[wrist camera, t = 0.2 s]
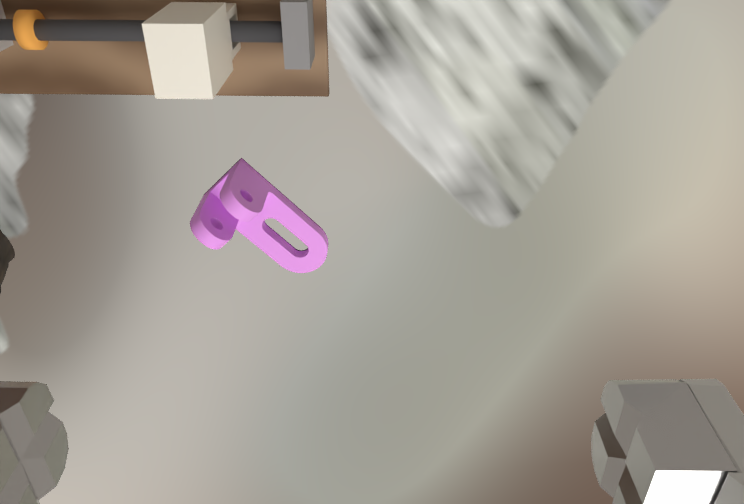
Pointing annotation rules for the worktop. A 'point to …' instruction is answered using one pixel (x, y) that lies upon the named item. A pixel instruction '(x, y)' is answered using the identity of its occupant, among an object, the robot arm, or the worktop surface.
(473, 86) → the worktop surface
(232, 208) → the bracket
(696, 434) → the robot arm
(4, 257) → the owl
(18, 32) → the dark grey bar
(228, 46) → the sleeve
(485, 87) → the worktop surface
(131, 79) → the board
